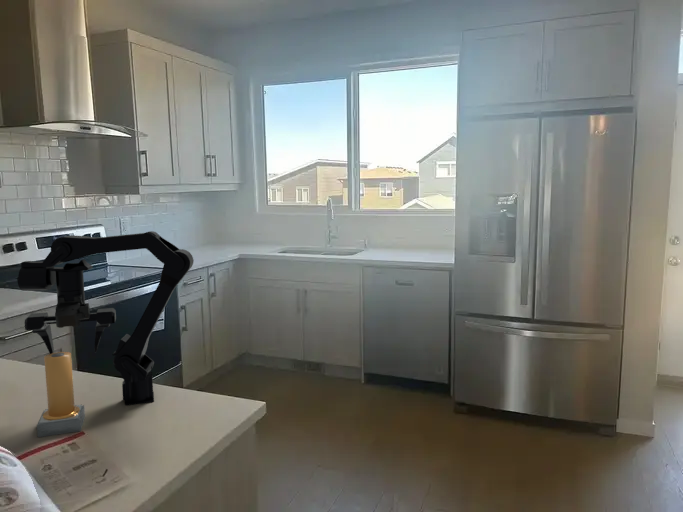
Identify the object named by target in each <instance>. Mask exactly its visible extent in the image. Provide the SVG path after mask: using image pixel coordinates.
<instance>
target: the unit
mask: <svg viewBox="0 0 683 512" xmlns="http://www.w3.org/2000/svg"><path fill="white" fill-rule="evenodd" d="M74 405H75V411H74V412H72V413H71V414H68V415H65V416H60V417H52V416H49V415H48V408H45V409H44V410H43V411H42V414H41V415H40V417H39V420H38V422H37V424H36V431H37V433H36V434H37V438H42V437H48V436H56V435H62V434H63V435H65V434H70V433H75V432H76V433H77V432H81V431H82V430H83V426H84V421H85V419H86V413H85V412H86V411H85V404H84V405H82V404H74Z"/></svg>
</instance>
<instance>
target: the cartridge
mask: <svg viewBox="0 0 683 512" xmlns="http://www.w3.org/2000/svg"><path fill="white" fill-rule="evenodd" d="M43 358H44V371H45V384H46V385H45V388H46V397H47V398H46V399H47V409H48V415H49V416H52V417H60V416H65V415H68V414H71V413H72V412H74V411H75V405H76V404H75V393H74V392H75V391H74V379H73V364H72V363H73V361H72V359H73V358H72V353H71V352H69V351H58V352H54V353H52V354H50V353H48V354H46V355H44V357H43Z"/></svg>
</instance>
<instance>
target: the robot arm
mask: <svg viewBox="0 0 683 512" xmlns="http://www.w3.org/2000/svg"><path fill="white" fill-rule="evenodd" d="M144 249H146V250H147V251H148V252H150V253H151V254H152V256H154V257H155V258H156V259H157V260H158V261H159V262H160V263H162V264H163V266H162V269H161V274H160V278H159V283H158V285H157V286H156V288H155V291H154V292H153V294H152V296H151V298H150V300H149V302H148V304H147V306H146V307H145V310H144V311H143V313H142V315H141V318H140V319H139V321H138V323H137V325H136V327H135V329H134V331H133V332H132V333H131V335H130V334H128V333H125V335H124V336H123V337H121V339H120V340H119V343H118V346H117V349H116V350H115V351H114V352H113V353H112V356H114V357H113V360H112V364H113V366H114V369H115V370H116V371H117V372H118V373H120V374H121V377H122V379H123V381H122V383H121V384H122V386H121V387H122V401H123V402H124V406H134V405H141V404H148V403H154V402H155V394H154V382H153V371H151V370H152V369H153V367H154V364H155V361H154V360H153V359H152V358H151V357H149V356H148V355H147V354H146V352H147V349H148V344H149V340H150V337H151V335H152V334H153V330H154V329H155V328H156V325H157V323H158V322H159V320H160V318H161V316H162V313H163V312H164V309H165V308H166V307H167V304H168V302H169V300H170V298H171V297H172V294H173V293H174V290H175V289H176V288H177V286H178V285H179V284H180V283H181V281H182V280H183V279H184V278H185V276H186V275H187V274H188V272H189V271H190V270H191V268H192V267H193V266H194V260H195V259H194V257H193V255H192V253H191V252H190V251H189V250H186V249H184V248H183V249H181V248H179V247H178V246H176V245H174V244H173V243H171V242H170V241H169V240H167V239H166V238H164V237H162V236H161V235H160V234H159V233H157V232H156V231H153V230H150V231H146V232H140V233H131V234H120V235H110V236H101V237H97V236H86V235H74V234H73V235H65V236H61V237H57V238H55V239H54V240H53V241H52V242H51V245H50V252H49V253H48V254H47V255H46V257H45V259H44V260H43V261H33V260H25V261H22V262H21V263H20V266H21V267H20V269H19V271H18V276H17V277H16V279H17V280H16V281H17V285H18V289H19V290H21V291H27V292H28V291H49V290H51V289H52V288H53V286H55V285H56V298H57V299H56V301H57V304H56V306H55V312H54V313H55V314H54V315H49V313H48V312H37V313H36V312H35V313H34V312H33V313H30V314H29V315H28V316H27V317H26V318H25V319H24V330H25V331H31V333H33V334H37V335H38V336H40V338H41V339H42V341H43V343H44V344H45V346H46V349H47V351H48V354H52V353H55V349H54V341H53V334H52V329H51V325H56V327H57V328H58V329H59V328H60V329H61V328H64V327H75V328H76V327H78V326H80V325H81V323H83V322H92V321H93V322H94V321H96V324H95V335H94V343H93V344H94V345H93V346H94V347H93V348H94V349H93V350H94V353H97V351H98V348H99V345H100V341H101V336H102V335H103V332H104V330H105V328H109V327H110V326H111V325H112V324H115V323H116V320H117V314H116V313H117V310H116V309H115V308H114V307H108V308H107V307H106V308H97V311H96V312H91V310H90V304H89V302H88V303H87V302H86V297H85V283H84V281H85V280H84V271H89V270H91V269H93V265H92V264H90V263H88V262H87V261H86V259H81V258H86V257H89V256H92V255H96V254H105V253H114V252H126V251H133V250H144ZM78 259H81V260H80V261H79V262H71V261H75V260H78ZM64 263H65V264H64ZM61 264H64V266H63V267H62V266H61V267H58V265H61ZM55 266H56V267H55Z"/></svg>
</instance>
